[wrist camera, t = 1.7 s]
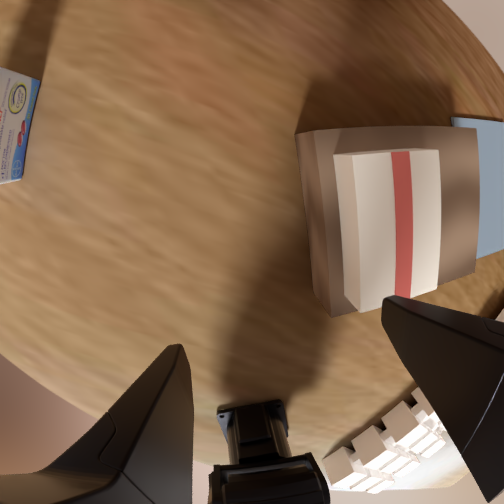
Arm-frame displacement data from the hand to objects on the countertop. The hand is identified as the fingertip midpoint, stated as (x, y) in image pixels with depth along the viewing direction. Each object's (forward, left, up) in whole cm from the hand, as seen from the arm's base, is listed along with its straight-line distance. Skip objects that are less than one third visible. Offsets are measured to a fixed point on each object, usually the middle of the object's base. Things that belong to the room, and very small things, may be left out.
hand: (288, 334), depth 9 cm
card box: (0, -8, -9) cm, 12 cm away
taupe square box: (0, -11, -13) cm, 17 cm away
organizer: (-27, -23, -14) cm, 38 cm away
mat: (0, -24, -13) cm, 27 cm away
